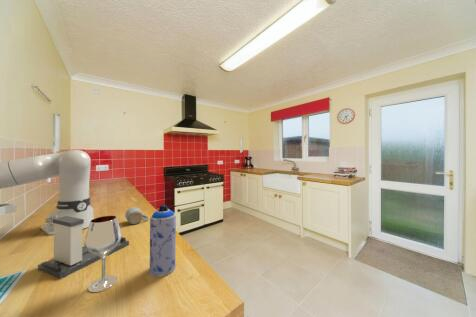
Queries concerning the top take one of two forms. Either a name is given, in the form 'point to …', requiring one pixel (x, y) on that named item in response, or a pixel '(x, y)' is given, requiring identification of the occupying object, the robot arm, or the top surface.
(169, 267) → the aerosol can
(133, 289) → the top surface
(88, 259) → the fader track
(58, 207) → the robot arm
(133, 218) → the light bulb
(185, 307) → the top surface
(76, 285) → the top surface
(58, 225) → the fader knob
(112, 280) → the wineglass
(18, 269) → the top surface
